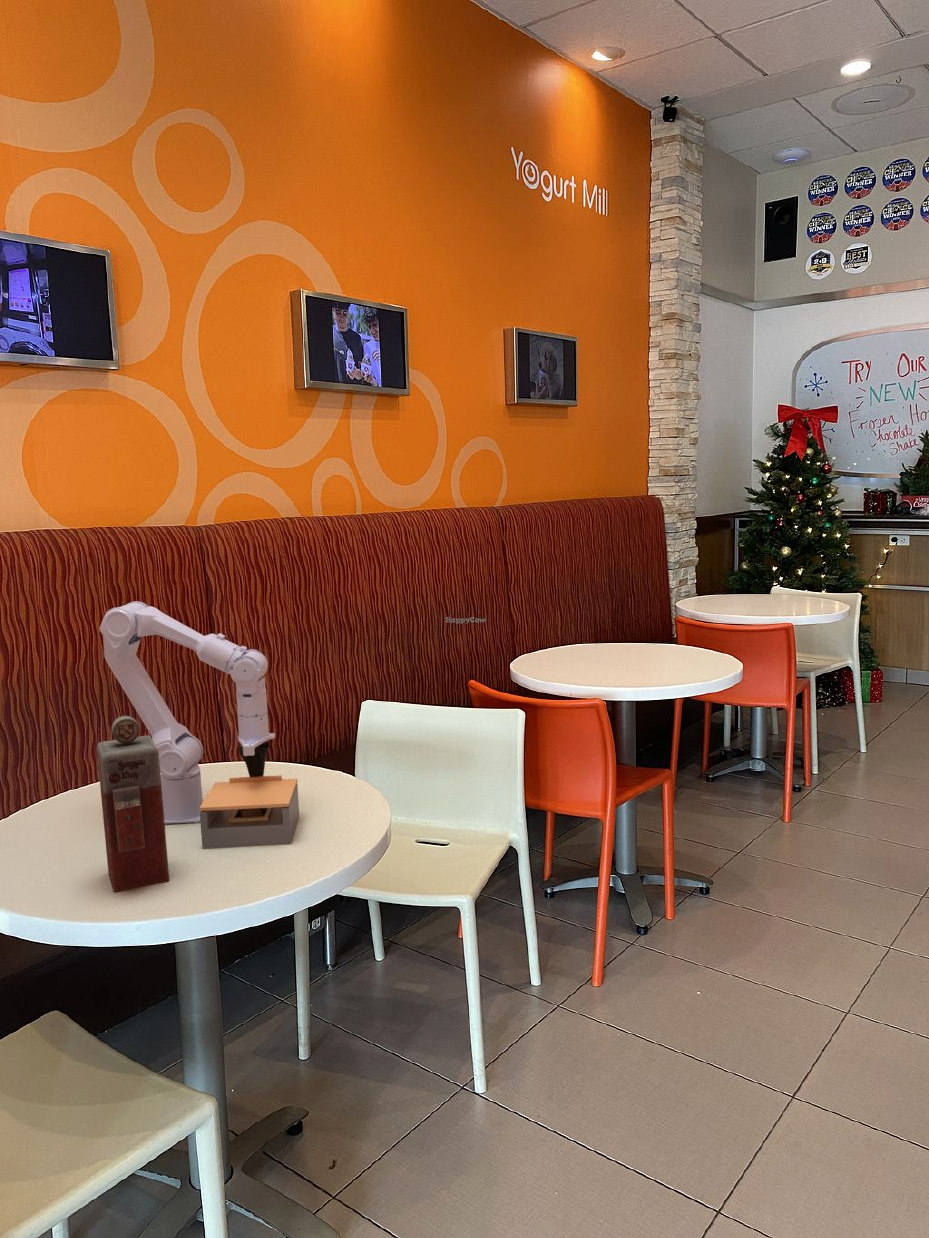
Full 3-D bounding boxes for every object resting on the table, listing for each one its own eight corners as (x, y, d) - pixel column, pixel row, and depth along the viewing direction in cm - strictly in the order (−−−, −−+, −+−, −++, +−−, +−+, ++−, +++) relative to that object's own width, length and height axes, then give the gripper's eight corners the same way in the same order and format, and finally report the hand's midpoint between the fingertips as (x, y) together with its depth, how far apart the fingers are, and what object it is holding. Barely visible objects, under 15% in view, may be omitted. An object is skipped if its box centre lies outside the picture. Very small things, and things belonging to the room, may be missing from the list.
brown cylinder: (240, 836, 176) (238, 805, 175) (244, 828, 180) (242, 798, 179) (262, 835, 176) (260, 804, 175) (265, 827, 180) (263, 797, 179)
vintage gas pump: (114, 898, 152) (99, 730, 147) (108, 872, 162) (93, 714, 157) (171, 886, 155) (158, 722, 151) (162, 861, 165) (149, 707, 161)
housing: (202, 848, 171) (199, 812, 170) (217, 820, 185) (215, 787, 183) (290, 843, 172) (288, 808, 171) (299, 816, 185) (297, 783, 184)
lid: (199, 810, 170) (199, 803, 170) (215, 785, 184) (214, 778, 183) (288, 806, 171) (288, 799, 170) (297, 781, 185) (297, 774, 184)
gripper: (268, 722, 176) (272, 791, 178) (278, 703, 190) (282, 767, 192) (230, 724, 175) (234, 793, 178) (243, 704, 190) (247, 769, 192)
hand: (257, 780), depth 185 cm, fingers closed
